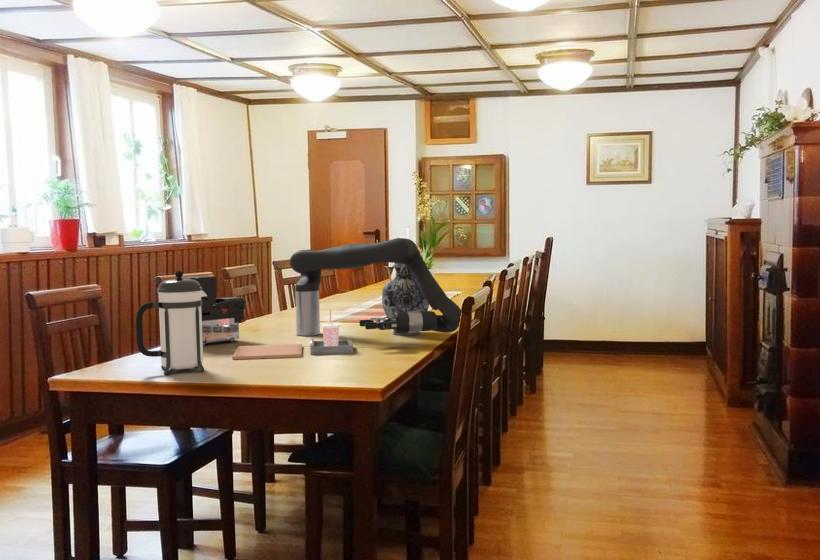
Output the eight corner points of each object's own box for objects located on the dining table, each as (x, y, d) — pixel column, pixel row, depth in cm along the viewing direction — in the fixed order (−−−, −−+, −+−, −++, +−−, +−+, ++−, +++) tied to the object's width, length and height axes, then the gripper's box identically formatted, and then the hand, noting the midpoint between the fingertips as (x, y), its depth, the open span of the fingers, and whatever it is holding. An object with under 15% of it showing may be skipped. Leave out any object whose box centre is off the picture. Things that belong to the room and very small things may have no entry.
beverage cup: (325, 352, 261) (324, 311, 260) (320, 350, 267) (319, 309, 266) (342, 351, 263) (341, 310, 262) (337, 348, 269) (336, 308, 268)
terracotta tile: (238, 349, 272) (238, 346, 272) (302, 346, 275) (302, 343, 275) (232, 359, 250) (232, 356, 250) (301, 357, 253) (301, 354, 253)
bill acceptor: (247, 341, 290) (245, 274, 288) (188, 348, 275) (185, 278, 273) (234, 338, 298) (232, 273, 296) (176, 345, 283) (174, 276, 281)
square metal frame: (310, 348, 271) (310, 337, 271) (350, 346, 273) (350, 336, 272) (310, 354, 257) (310, 343, 257) (352, 353, 259) (352, 342, 259)
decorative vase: (430, 337, 292) (428, 262, 290) (381, 338, 293) (378, 264, 291) (431, 329, 313) (429, 260, 312) (385, 330, 314) (382, 261, 312)
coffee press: (179, 364, 243) (175, 268, 241) (218, 368, 236) (215, 269, 233) (136, 374, 228) (132, 272, 225) (177, 378, 220) (173, 273, 218)
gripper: (401, 309, 279) (357, 311, 274) (413, 313, 265) (367, 316, 261) (402, 330, 279) (358, 332, 275) (413, 335, 266) (367, 338, 261)
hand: (362, 324), depth 268 cm, fingers open, 8 cm apart
